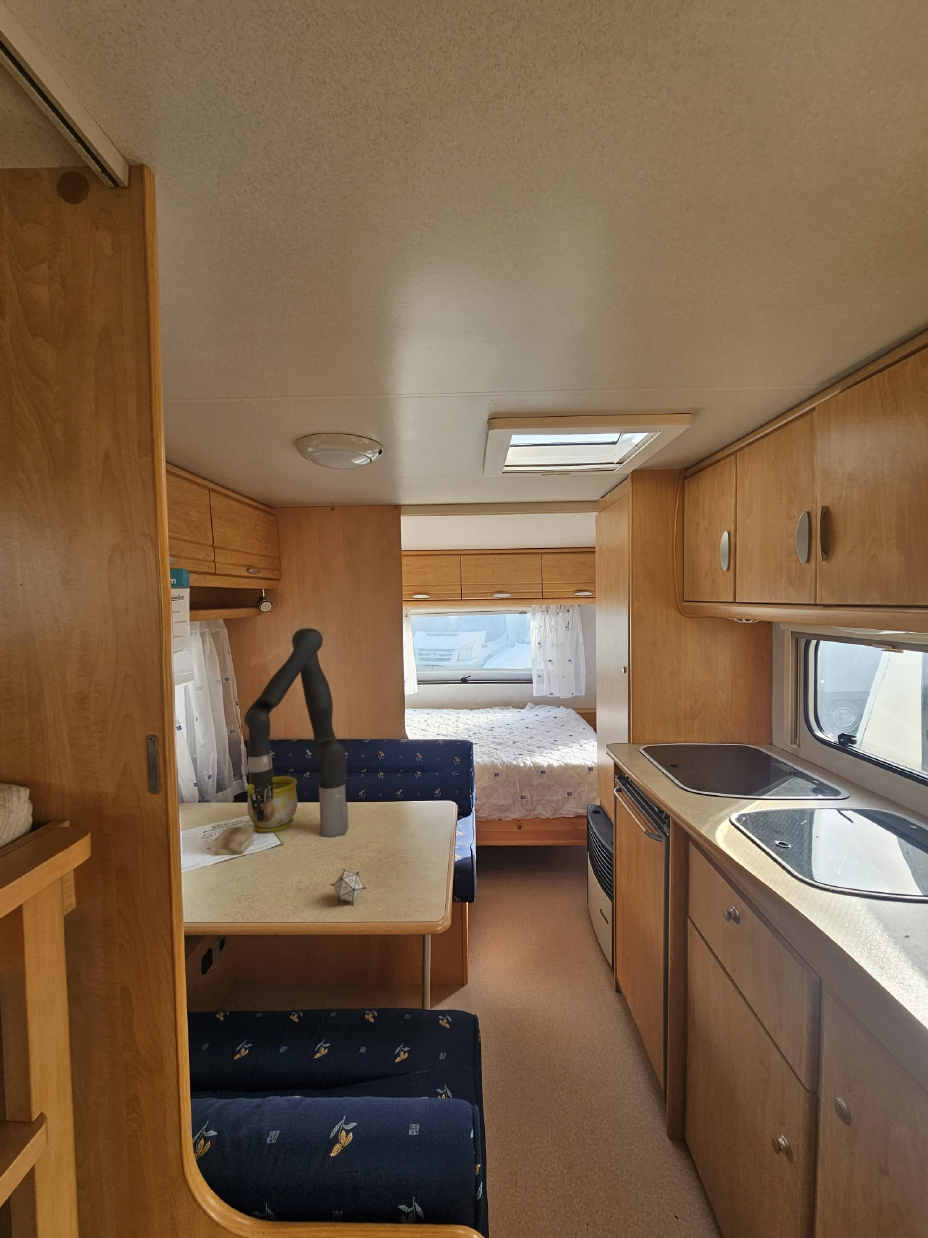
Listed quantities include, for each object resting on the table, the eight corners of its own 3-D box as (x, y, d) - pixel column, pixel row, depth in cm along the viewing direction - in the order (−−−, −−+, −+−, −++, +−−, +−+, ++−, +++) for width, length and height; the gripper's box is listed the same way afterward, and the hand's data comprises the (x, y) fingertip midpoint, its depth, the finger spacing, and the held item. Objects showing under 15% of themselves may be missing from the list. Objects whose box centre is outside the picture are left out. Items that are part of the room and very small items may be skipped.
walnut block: (274, 816, 179) (273, 798, 179) (268, 822, 174) (267, 804, 174) (260, 817, 179) (258, 799, 179) (254, 823, 174) (252, 805, 174)
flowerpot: (280, 814, 210) (278, 773, 210) (308, 823, 200) (306, 780, 200) (238, 830, 196) (236, 786, 196) (266, 840, 185) (264, 794, 185)
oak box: (253, 843, 183) (252, 826, 183) (242, 855, 174) (241, 837, 174) (228, 844, 184) (227, 827, 183) (215, 856, 175) (214, 838, 174)
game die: (344, 912, 144) (334, 875, 149) (372, 899, 145) (362, 862, 150) (332, 912, 136) (323, 873, 141) (363, 898, 137) (352, 860, 142)
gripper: (262, 774, 169) (266, 825, 170) (279, 761, 184) (282, 808, 184) (240, 775, 169) (244, 827, 170) (258, 762, 184) (261, 810, 184)
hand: (264, 817), depth 177 cm, fingers closed on walnut block, 5 cm apart
